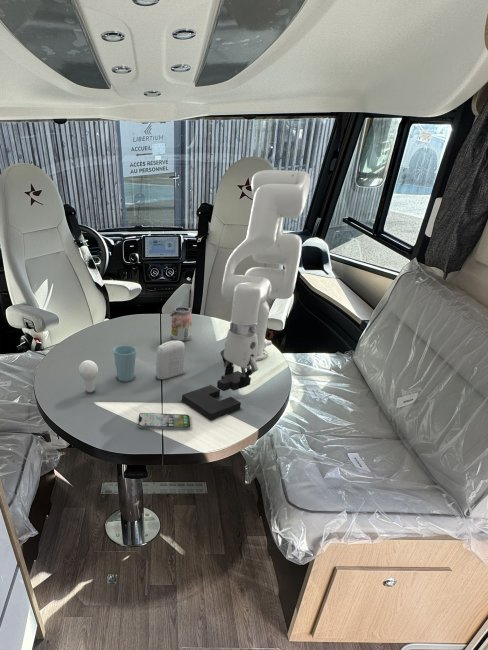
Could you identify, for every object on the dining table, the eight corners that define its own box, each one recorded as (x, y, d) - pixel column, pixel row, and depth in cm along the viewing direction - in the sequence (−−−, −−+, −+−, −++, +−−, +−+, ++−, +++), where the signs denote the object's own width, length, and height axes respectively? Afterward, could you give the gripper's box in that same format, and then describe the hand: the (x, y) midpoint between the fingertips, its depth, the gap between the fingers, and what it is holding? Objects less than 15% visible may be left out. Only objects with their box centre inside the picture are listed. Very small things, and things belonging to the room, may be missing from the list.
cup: (138, 373, 156) (137, 345, 150) (134, 383, 150) (134, 355, 144) (117, 372, 157) (115, 344, 151) (113, 382, 151) (111, 353, 145)
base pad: (210, 391, 146) (210, 384, 144) (240, 409, 136) (241, 402, 135) (181, 401, 140) (182, 394, 139) (210, 421, 131) (211, 414, 129)
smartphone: (190, 428, 126) (138, 426, 126) (190, 431, 127) (138, 429, 127) (189, 414, 132) (139, 412, 132) (188, 417, 133) (139, 415, 133)
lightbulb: (102, 389, 147) (100, 358, 140) (94, 397, 142) (92, 366, 135) (85, 386, 148) (83, 355, 142) (77, 394, 144) (74, 363, 137)
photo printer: (178, 369, 159) (179, 336, 152) (185, 373, 156) (187, 340, 149) (154, 376, 154) (154, 343, 147) (161, 381, 151) (161, 347, 144)
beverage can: (166, 335, 185) (167, 306, 178) (184, 332, 187) (185, 304, 180) (176, 343, 178) (177, 314, 171) (194, 340, 181) (196, 311, 174)
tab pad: (236, 377, 144) (237, 370, 142) (250, 384, 140) (251, 377, 138) (213, 385, 139) (214, 378, 137) (226, 393, 135) (227, 386, 133)
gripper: (274, 334, 125) (264, 390, 136) (232, 316, 137) (225, 370, 147) (255, 339, 122) (246, 397, 132) (213, 321, 133) (208, 375, 144)
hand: (235, 382), depth 140 cm, fingers closed on tab pad, 6 cm apart
